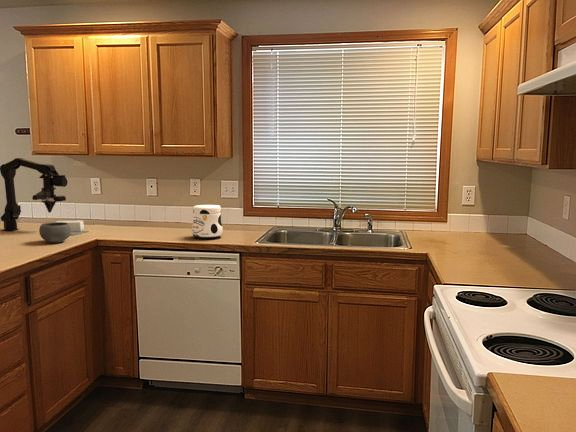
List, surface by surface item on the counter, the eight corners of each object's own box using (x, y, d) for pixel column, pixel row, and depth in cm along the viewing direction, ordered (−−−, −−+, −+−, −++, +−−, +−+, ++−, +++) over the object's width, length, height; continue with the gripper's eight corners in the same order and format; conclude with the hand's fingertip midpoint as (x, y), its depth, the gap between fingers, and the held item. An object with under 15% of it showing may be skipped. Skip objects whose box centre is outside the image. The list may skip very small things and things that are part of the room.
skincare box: (54, 232, 291) (80, 232, 293) (53, 222, 290) (80, 222, 292) (58, 229, 299) (84, 229, 301) (58, 219, 298) (84, 220, 300)
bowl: (62, 238, 273) (61, 220, 272) (76, 242, 264) (75, 223, 262) (34, 242, 262) (33, 223, 260) (48, 246, 252) (47, 226, 251)
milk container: (187, 239, 275) (187, 207, 273) (197, 234, 292) (197, 204, 290) (217, 240, 273) (217, 208, 270) (226, 235, 290) (226, 204, 287)
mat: (49, 234, 286) (49, 233, 286) (65, 230, 300) (65, 229, 300) (74, 235, 283) (74, 234, 283) (89, 231, 296) (89, 230, 296)
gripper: (24, 186, 285) (26, 213, 287) (53, 187, 281) (54, 215, 283) (38, 185, 295) (39, 210, 298) (66, 186, 291) (66, 212, 294)
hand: (49, 212), depth 293 cm, fingers closed
